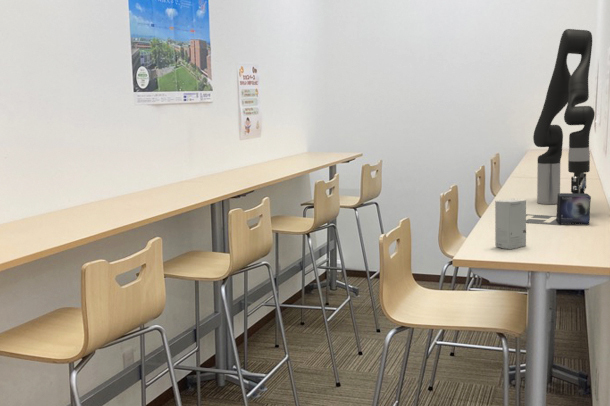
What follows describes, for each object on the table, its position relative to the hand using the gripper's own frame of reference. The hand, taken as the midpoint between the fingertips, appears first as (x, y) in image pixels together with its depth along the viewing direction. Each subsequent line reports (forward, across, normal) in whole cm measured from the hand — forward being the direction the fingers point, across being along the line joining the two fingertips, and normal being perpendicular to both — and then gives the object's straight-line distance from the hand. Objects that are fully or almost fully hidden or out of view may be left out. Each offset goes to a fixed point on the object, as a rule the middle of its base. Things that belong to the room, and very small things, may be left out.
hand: (578, 202), depth 266 cm
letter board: (+5, -12, +12) cm, 17 cm away
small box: (+6, -15, -1) cm, 16 cm away
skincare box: (+6, -61, +8) cm, 62 cm away
